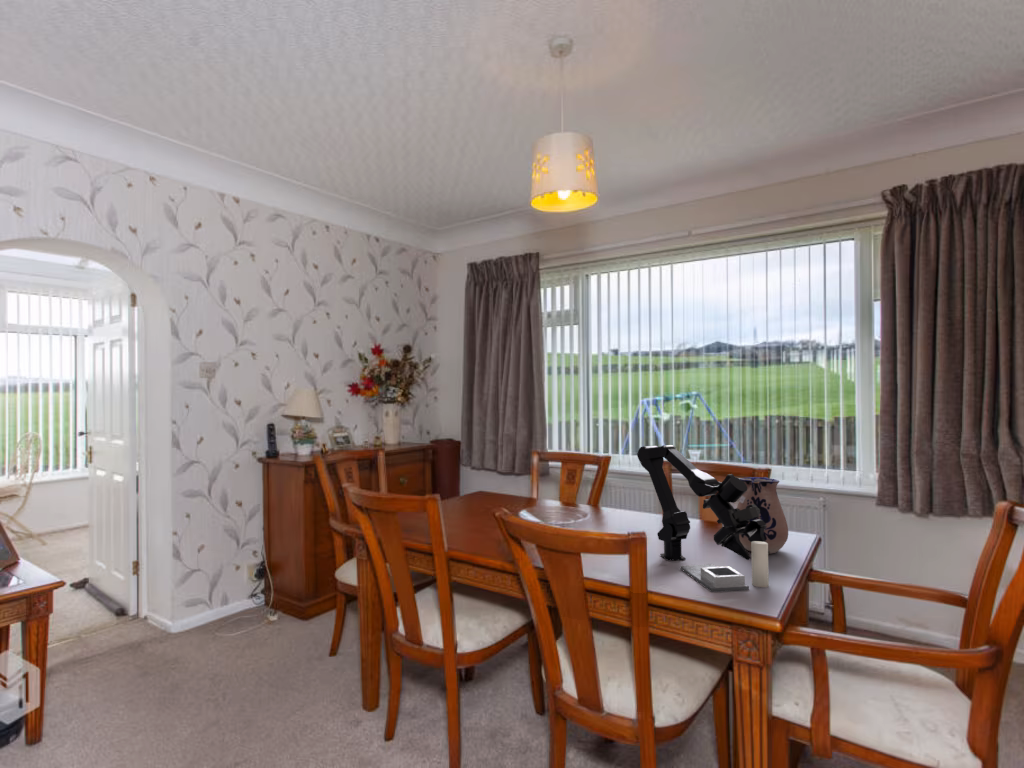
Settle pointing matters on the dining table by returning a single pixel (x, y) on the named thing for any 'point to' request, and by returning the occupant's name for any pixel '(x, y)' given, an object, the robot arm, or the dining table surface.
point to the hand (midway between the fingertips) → (759, 556)
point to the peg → (759, 564)
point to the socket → (717, 577)
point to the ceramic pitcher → (765, 511)
